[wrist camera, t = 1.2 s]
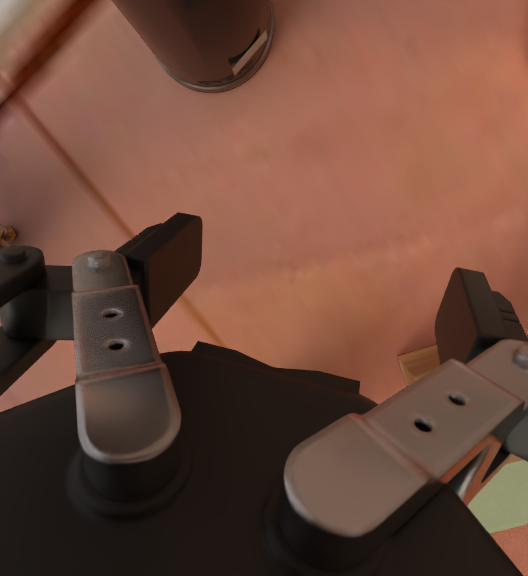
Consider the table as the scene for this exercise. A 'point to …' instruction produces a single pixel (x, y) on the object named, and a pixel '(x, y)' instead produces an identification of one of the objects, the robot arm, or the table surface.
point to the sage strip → (503, 499)
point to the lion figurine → (6, 235)
